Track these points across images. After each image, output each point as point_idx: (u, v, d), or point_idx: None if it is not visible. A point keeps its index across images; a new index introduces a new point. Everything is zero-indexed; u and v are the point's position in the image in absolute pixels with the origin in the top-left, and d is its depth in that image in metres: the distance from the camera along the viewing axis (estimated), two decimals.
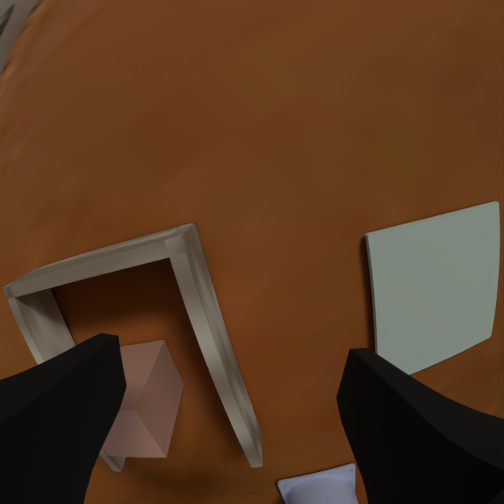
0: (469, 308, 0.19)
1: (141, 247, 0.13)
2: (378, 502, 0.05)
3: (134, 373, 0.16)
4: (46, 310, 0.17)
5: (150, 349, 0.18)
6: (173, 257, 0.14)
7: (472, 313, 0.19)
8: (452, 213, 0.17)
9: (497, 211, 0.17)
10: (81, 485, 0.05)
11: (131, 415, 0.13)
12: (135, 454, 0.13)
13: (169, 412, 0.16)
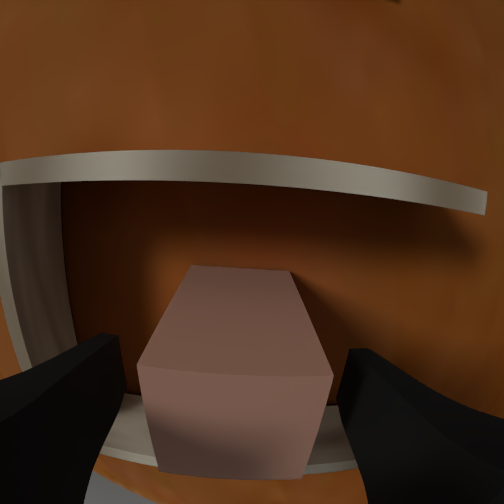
0: None
1: None
2: (378, 502, 0.05)
3: None
4: None
5: None
6: (2, 180, 0.07)
7: None
8: None
9: None
10: (81, 485, 0.05)
11: (156, 382, 0.06)
12: (304, 435, 0.06)
13: (277, 310, 0.09)
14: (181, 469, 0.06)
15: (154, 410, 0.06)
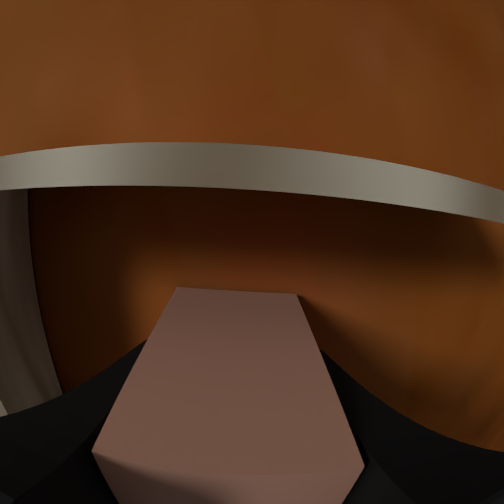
0: None
1: None
2: None
3: None
4: None
5: None
6: None
7: None
8: None
9: None
10: None
11: (121, 472, 0.03)
12: None
13: (284, 358, 0.06)
14: None
15: (124, 494, 0.04)
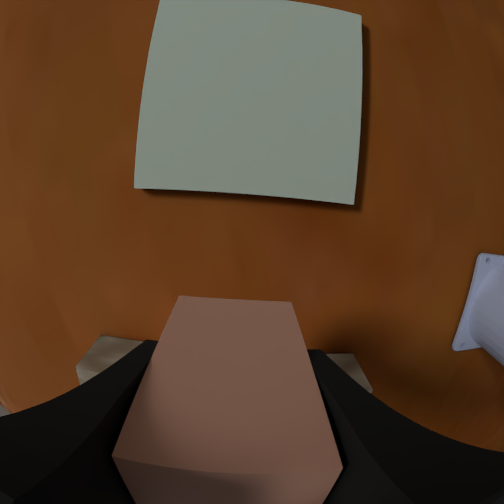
0: (290, 46, 0.14)
1: None
2: None
3: None
4: None
5: None
6: (89, 378, 0.14)
7: (301, 42, 0.14)
8: (147, 69, 0.14)
9: (171, 0, 0.13)
10: None
11: (137, 472, 0.04)
12: None
13: (278, 368, 0.07)
14: None
15: (138, 490, 0.04)
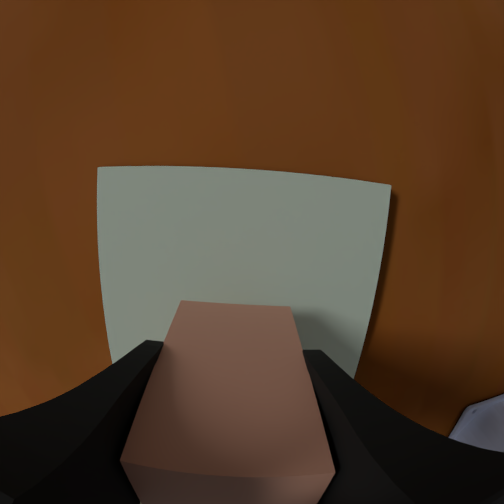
0: (285, 260, 0.12)
1: None
2: None
3: None
4: None
5: None
6: None
7: (301, 250, 0.12)
8: (103, 284, 0.12)
9: (112, 171, 0.11)
10: (136, 501, 0.05)
11: (143, 475, 0.04)
12: None
13: (276, 374, 0.07)
14: None
15: (144, 491, 0.05)
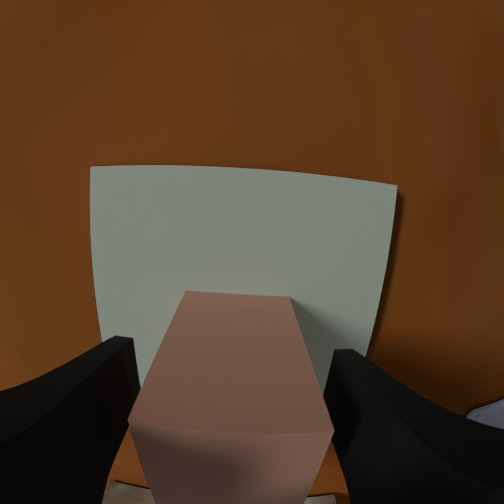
0: (286, 264, 0.11)
1: None
2: None
3: None
4: None
5: None
6: None
7: (303, 254, 0.11)
8: (96, 288, 0.12)
9: (105, 171, 0.10)
10: (98, 491, 0.05)
11: (150, 436, 0.05)
12: (302, 480, 0.05)
13: (276, 350, 0.08)
14: None
15: (148, 458, 0.05)
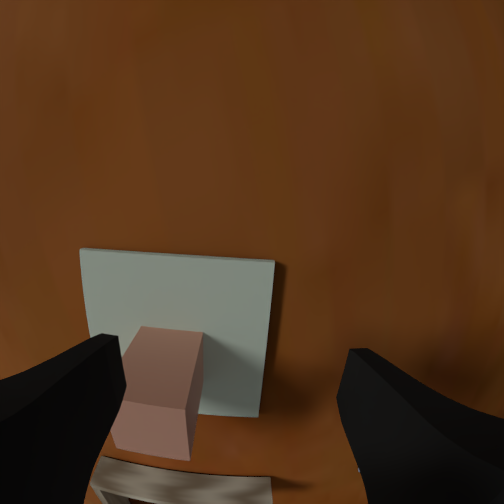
0: (199, 313, 0.18)
1: (95, 492, 0.19)
2: (378, 502, 0.05)
3: None
4: None
5: None
6: (99, 488, 0.19)
7: (209, 307, 0.18)
8: (89, 321, 0.18)
9: (88, 253, 0.17)
10: (81, 485, 0.05)
11: None
12: (180, 435, 0.12)
13: (177, 367, 0.14)
14: (127, 447, 0.12)
15: None
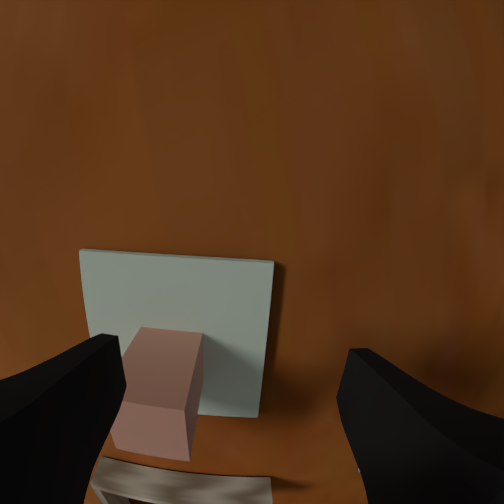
0: (198, 313, 0.18)
1: (96, 493, 0.19)
2: (378, 502, 0.05)
3: None
4: None
5: None
6: (99, 489, 0.19)
7: (209, 308, 0.18)
8: (88, 322, 0.18)
9: (88, 254, 0.17)
10: (81, 485, 0.05)
11: None
12: (180, 436, 0.12)
13: (177, 367, 0.14)
14: (126, 448, 0.12)
15: None
